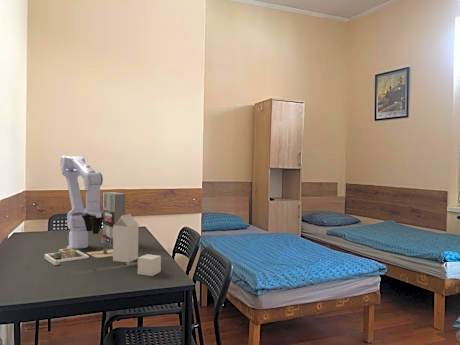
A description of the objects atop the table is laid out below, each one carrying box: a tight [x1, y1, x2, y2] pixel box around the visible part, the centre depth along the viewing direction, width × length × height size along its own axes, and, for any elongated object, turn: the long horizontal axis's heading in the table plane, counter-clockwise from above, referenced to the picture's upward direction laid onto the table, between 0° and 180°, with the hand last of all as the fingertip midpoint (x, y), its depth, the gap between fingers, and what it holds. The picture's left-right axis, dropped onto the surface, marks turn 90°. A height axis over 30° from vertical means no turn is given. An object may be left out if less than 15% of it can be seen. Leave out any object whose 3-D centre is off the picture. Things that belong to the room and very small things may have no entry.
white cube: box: [137, 253, 162, 277], centre depth 140 cm, size 6×6×6 cm
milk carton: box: [112, 213, 139, 265], centre depth 154 cm, size 7×7×19 cm
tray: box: [43, 249, 90, 266], centre depth 156 cm, size 13×13×2 cm
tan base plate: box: [85, 242, 113, 259], centre depth 164 cm, size 12×12×6 cm
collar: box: [53, 247, 76, 260], centre depth 156 cm, size 7×5×3 cm
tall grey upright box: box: [100, 191, 126, 246], centre depth 186 cm, size 14×6×25 cm, turn 41°
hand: (92, 232), depth 164 cm, fingers open, 7 cm apart
